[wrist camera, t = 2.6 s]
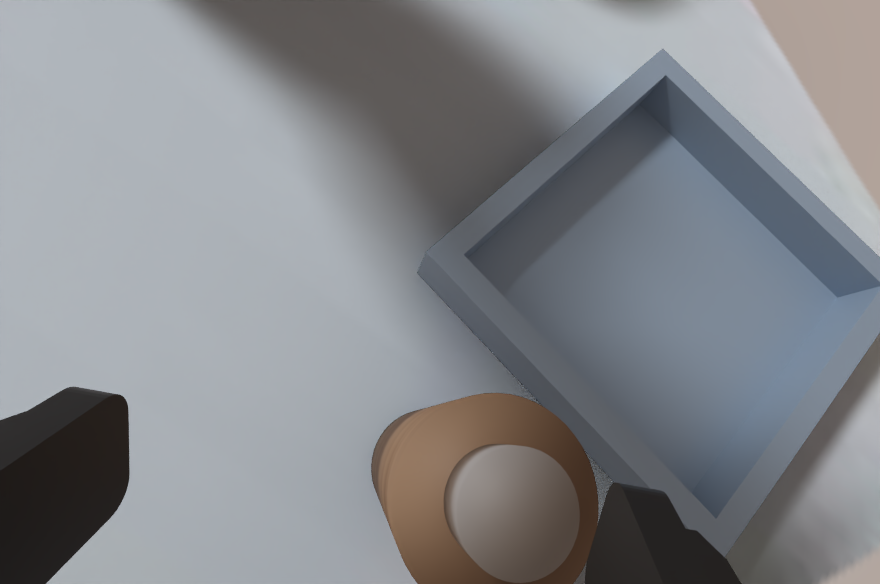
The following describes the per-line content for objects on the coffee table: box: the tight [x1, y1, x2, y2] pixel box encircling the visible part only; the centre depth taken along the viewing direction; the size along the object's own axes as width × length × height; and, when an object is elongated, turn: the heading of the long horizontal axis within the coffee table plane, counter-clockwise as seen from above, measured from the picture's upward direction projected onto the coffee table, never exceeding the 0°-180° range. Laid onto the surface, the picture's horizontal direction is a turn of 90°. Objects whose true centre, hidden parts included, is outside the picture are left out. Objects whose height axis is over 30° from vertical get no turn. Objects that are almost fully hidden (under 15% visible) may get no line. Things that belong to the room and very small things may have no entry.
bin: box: [417, 49, 880, 557], centre depth 26 cm, size 18×18×3 cm
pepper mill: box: [371, 393, 598, 584], centre depth 17 cm, size 5×5×14 cm
